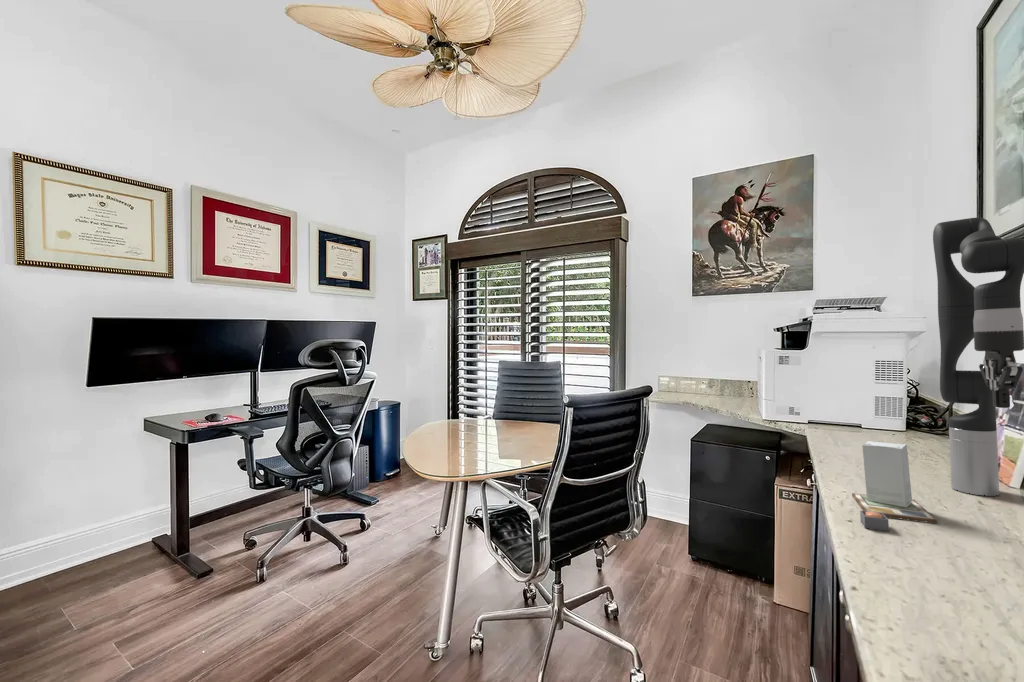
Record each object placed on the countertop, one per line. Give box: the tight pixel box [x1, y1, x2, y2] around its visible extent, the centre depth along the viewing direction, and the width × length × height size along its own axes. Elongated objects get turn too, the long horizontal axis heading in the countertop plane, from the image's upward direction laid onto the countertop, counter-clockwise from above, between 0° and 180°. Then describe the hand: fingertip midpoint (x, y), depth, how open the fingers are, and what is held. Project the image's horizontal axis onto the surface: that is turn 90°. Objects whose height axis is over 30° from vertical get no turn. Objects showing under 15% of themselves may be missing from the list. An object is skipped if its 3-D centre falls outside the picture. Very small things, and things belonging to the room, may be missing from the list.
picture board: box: [851, 492, 938, 524], centre depth 112 cm, size 15×13×1 cm
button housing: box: [859, 510, 890, 532], centre depth 101 cm, size 4×4×3 cm
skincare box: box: [861, 440, 913, 508], centre depth 114 cm, size 8×6×15 cm
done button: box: [865, 512, 882, 518], centre depth 101 cm, size 3×3×2 cm
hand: (1001, 407), depth 99 cm, fingers closed
